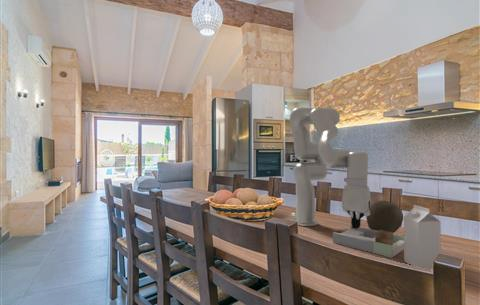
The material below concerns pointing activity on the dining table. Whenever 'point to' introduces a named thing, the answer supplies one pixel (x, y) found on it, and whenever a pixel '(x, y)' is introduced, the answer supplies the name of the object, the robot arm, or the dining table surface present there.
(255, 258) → the dining table surface
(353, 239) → the lane box
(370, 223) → the brown coconut
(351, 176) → the robot arm
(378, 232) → the walnut block
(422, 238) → the milk carton
